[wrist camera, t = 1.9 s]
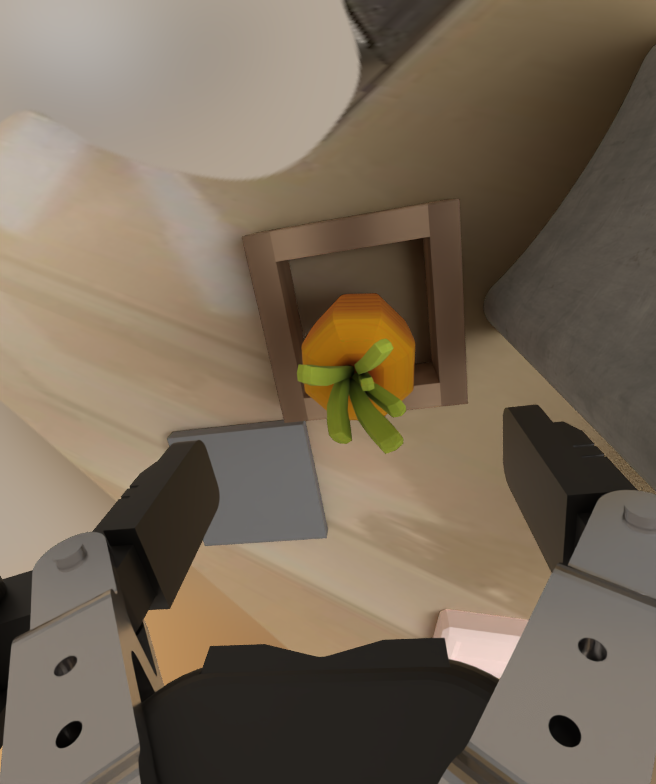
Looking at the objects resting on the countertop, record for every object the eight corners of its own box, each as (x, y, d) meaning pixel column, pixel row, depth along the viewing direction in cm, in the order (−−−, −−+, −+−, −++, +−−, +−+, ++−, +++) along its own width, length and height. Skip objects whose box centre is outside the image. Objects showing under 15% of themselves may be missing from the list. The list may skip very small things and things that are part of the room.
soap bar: (440, 604, 37) (444, 630, 35) (547, 618, 37) (559, 645, 34) (429, 645, 39) (432, 672, 37) (530, 659, 39) (540, 687, 37)
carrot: (309, 289, 27) (245, 383, 13) (384, 255, 25) (400, 318, 12) (342, 359, 28) (316, 507, 15) (414, 330, 27) (459, 461, 13)
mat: (304, 417, 30) (302, 424, 29) (327, 529, 34) (326, 538, 33) (172, 431, 32) (166, 438, 31) (209, 537, 36) (205, 546, 35)
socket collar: (447, 199, 24) (459, 198, 21) (456, 380, 28) (467, 403, 25) (257, 232, 26) (241, 236, 22) (293, 399, 30) (284, 423, 27)
